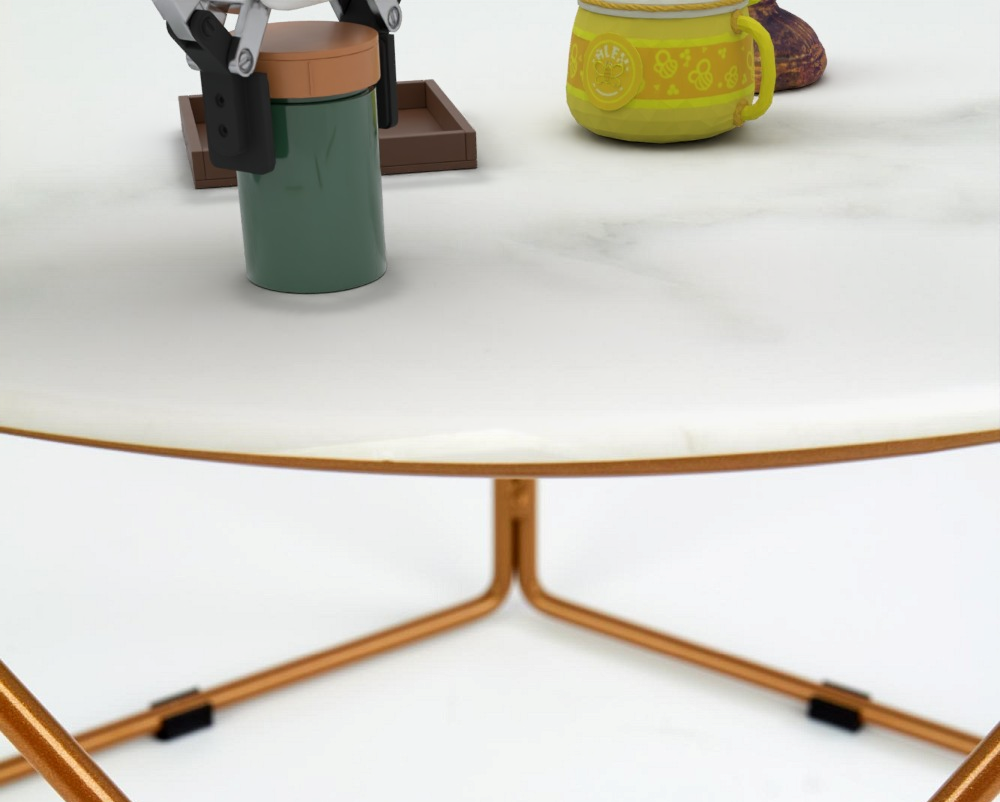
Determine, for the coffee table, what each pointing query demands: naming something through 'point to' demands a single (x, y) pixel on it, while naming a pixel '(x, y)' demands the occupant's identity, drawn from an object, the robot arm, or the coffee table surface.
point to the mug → (667, 68)
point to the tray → (403, 148)
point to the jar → (317, 197)
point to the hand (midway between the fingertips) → (307, 144)
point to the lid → (318, 58)
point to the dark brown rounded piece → (788, 47)
